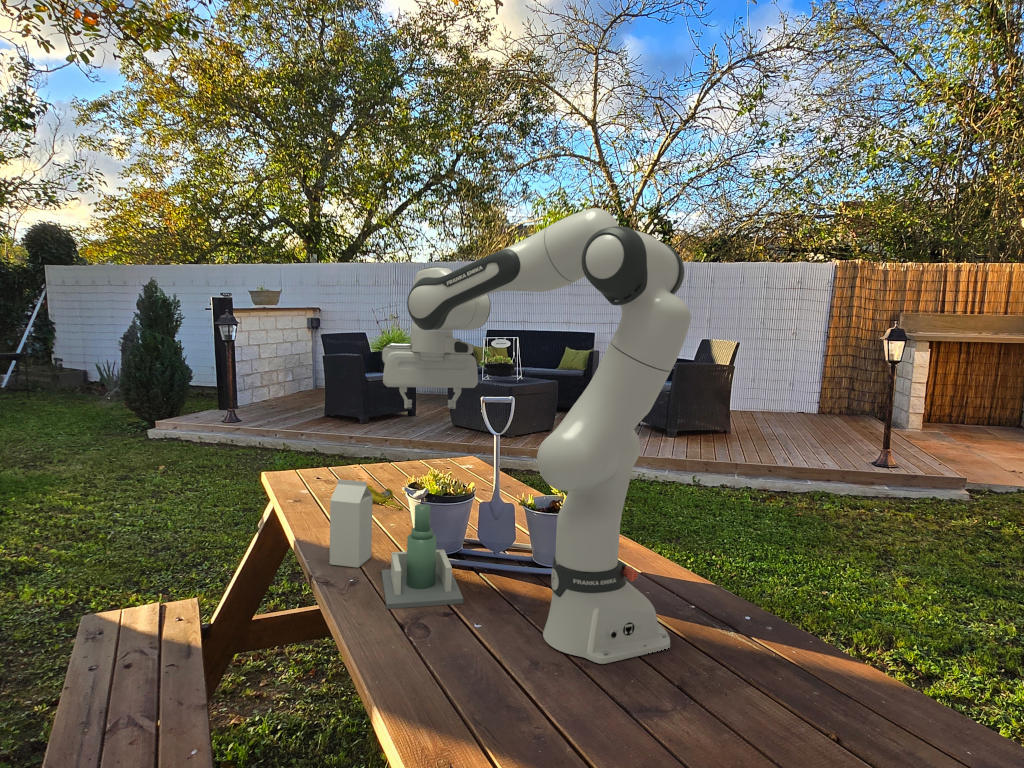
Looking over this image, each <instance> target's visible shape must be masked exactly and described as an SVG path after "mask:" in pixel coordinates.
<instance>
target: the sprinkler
mask: <svg viewBox="0 0 1024 768" xmlns="http://www.w3.org/2000/svg"><path fill="white" fill-rule="evenodd" d="M367 488H368V489H369V491H370V492H371V494H372V503H375V502H376V503H375V504H377V503H381V504H385V505H387V506H390V505H395V506H397V507H400V508H396V507H393V506H390V507H393V508H396V509H401V510H403V509H404V506H403V505H399V504H397V502H395V501H394V496H395V495H394V491H393V490H392V489H390V488H386V489H385V490H384V491H382V492H378V491H377V490H376V489H375V488H374V487H373V486H372V485H369V484H368V485H367ZM390 498H391V499H393V500H392V501H391V500H389V499H390ZM386 502H387V503H386ZM385 505H384V506H385Z"/></svg>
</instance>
